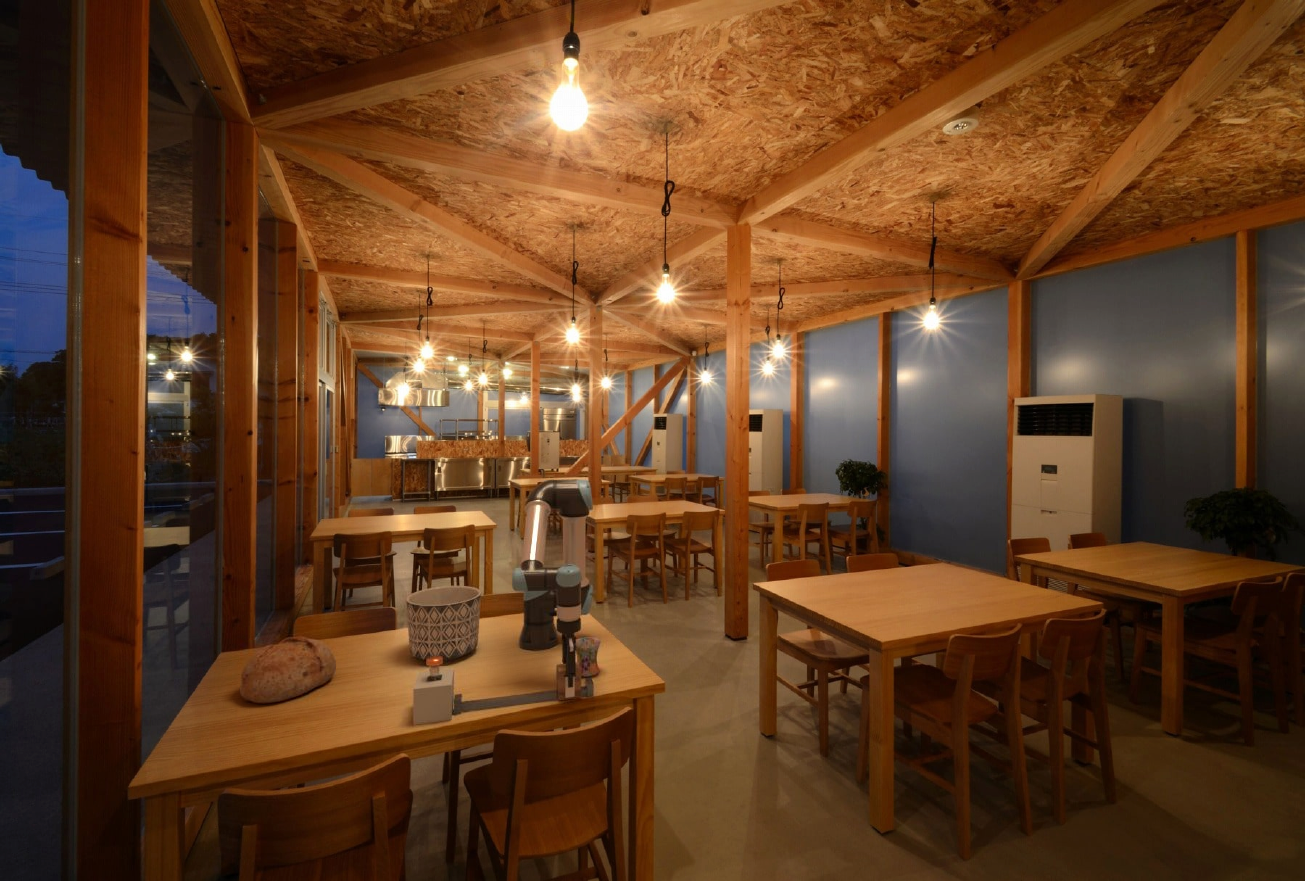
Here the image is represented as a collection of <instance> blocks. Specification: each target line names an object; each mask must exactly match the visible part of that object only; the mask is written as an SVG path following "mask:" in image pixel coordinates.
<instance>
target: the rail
mask: <svg viewBox="0 0 1305 881" xmlns="http://www.w3.org/2000/svg"><path fill="white" fill-rule="evenodd" d="M594 686H595V685H594V681H593V677H588V678H587V677H586V678H585V679H584V686H581V696H582V697H586V698H590V697H591V698H592V697H594V695H595V694H594V693H595V692H594V691H595V689H594V688H595V687H594ZM549 701H551V702H552V701H558V691H557V690H556V689H552V690H551V689H550V690H544V691H543V690H542V691H537V692H528V693H527V692H526V693H521V694H513V695H505V696H497V697H487V698H480V699H474V700H465V701H463V693H458V694H457V693H455V694H454V704H453V715H459V714H460V715H461V714H462V713H465V712H466V713H467V712H472V711H473V712H474V711H475V712H476V711H481V710H489V709H495V708H496V709H497V708H505V707H512V706H519V705H528V704H535V703H543V702H549Z"/></svg>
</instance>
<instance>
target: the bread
mask: <svg viewBox="0 0 1305 881" xmlns="http://www.w3.org/2000/svg"><path fill="white" fill-rule="evenodd" d="M336 668H337V662H336V658H335V656H334V654H333V652H332V650H331V649H330V648H329V646H328V645H326V644H325V643H323V641H320V640H319V639H314V638H309V637H306V636H293V637H292V636H289V637H286V638H284V639H282V640H281V641H279V642H278V643H277V644H268V645H266V646H264V647H262V648H261V649H259V650H258V651H257V652H256V653H254V654H253V655H252V657H250V658H249V659H248V661H247V663H246V664H245V665H244V667H243V669H242V672H241V680H240V681H241V683H240V687H239V695H240V696H241V697H242V698H243V700H245V701H247V702H253V703H255V704H275V703H279V702H283V701H286V700H290V699H294V698H295V697H298V696H301V695H303V694H306V693H307V692H310V691H311V690H314V689H315V688H317V687H320V686H322V685H325V684H326V683H328V681H330V680H331V679H332V678H333V676H334V675H335V673H336V670H337V669H336Z"/></svg>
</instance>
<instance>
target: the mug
mask: <svg viewBox="0 0 1305 881" xmlns="http://www.w3.org/2000/svg"><path fill="white" fill-rule="evenodd" d="M575 644H576V662H578V663H579V665H580V668H581V677H584V678H587V677H588V678H589V677H593V676H596V675H598V673H599V672H600V668H599V665H598V658H597V657H598V652H599V651H598V650H599V648H600V646H601V640H600V639H599V638H596V637H591V636H590V637H581V638H576V643H575Z"/></svg>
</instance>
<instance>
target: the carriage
mask: <svg viewBox="0 0 1305 881" xmlns="http://www.w3.org/2000/svg"><path fill="white" fill-rule="evenodd" d="M555 669H556V670H555V671H556V676H555V677H556V678H555V679H556V680H555V684H556V685H555V686H556V689H555V690H557V691H558V700H557V701H565V700H572V699H579V698H580V699H581V698H582V697H581V687H582V676H581V668H580V665H579V663H578V662H577V661H576V676H575V697H568V698H566V697H565V677H564V675H566V664H563V663H558V664H556V668H555Z"/></svg>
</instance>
